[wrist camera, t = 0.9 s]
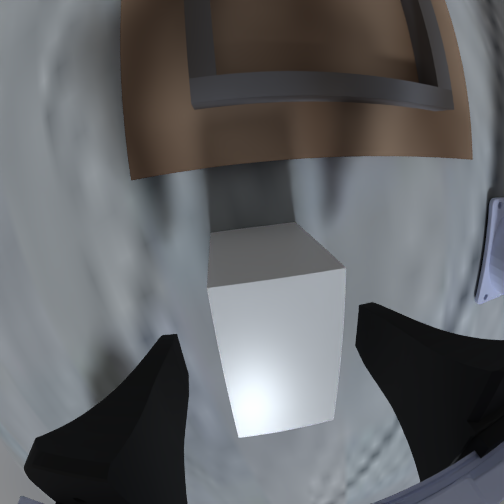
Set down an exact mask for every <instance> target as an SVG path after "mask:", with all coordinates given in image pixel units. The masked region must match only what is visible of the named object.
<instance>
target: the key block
mask: <svg viewBox="0 0 504 504" xmlns="http://www.w3.org/2000/svg"><path fill="white" fill-rule="evenodd" d="M345 288H346V267H345V266H343V265H342V264H341V263H340V262H339V261H338V260H337V259H336V258H335V257H334V256H333V255H332V254H330V253H329V252H328V251H327V250H326V249H325V248H324V247H323V246H322V245H321V244H319V243H318V242H317V241H316V240H315V239H314V238H313V237H312V236H311V235H309V234H308V233H307V232H306V231H305V230H304V229H303V228H302V227H301V226H299V225H298V224H297V223H296V222H291V223H283V224H274V225H266V226H258V227H250V228H242V229H234V230H226V231H219V232H211V233H210V248H209V263H208V280H207V291H208V296H209V302H210V307H211V312H212V318H213V323H214V328H215V333H216V338H217V343H218V348H219V353H220V358H221V362H222V367H223V372H224V376H225V381H226V385H227V390H228V394H229V399H230V403H231V407H232V411H233V416H234V420H235V424H236V428H237V432H238V436H239V438H240V437H248V436H255V435H262V434H268V433H274V432H280V431H286V430H291V429H296V428H301V427H305V426H310V425H314V424H318V423H323V422H327V421H330V420H333V419H334V413H335V405H336V398H337V390H338V381H339V372H340V363H341V352H342V340H343V326H344V310H345Z"/></svg>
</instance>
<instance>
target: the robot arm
mask: <svg viewBox="0 0 504 504" xmlns="http://www.w3.org/2000/svg"><path fill="white" fill-rule="evenodd" d="M501 295H504V197H497V198H492V199H491V200H490V203H489V215H488V225H487V235H486V243H485V250H484V256H483V262H482V268H481V274H480V279H479V284H478V288H477V293H476V297H475V301H476V303H478V304H482V303H484V302H487V301H489V300H492V299H494V298H496V297H499V296H501ZM355 346H356V348H357V350H358V352H359V355H360V357H361V359H362V361H363V363H364V365H365V366H366V368H367V369H368V371H369V372H370V374H371V375H372V377H373V379H374V380H375V381H376V383H377V384H378V386H379V387H380V389H381V390H382V392H383V393H384V395H385V397H386V398H387V400H388V401H389V403H390V404H391V406H392V408H393V410H394V412H395V414H396V416H397V418H398V420H399V422H400V425H401V427H402V429H403V432H404V434H405V436H406V439H407V441H408V444H409V446H410V449H411V452H412V455H413V458H414V461H415V464H416V467H417V471H418V474H419V478H420V483H418V484H416V485H414V486H412V487H410V488H408V489H405V490H403V491H401V492H399V493H397V494H394V495H392V496H390V497H387V498H385V499H382V500H380V501H377V502H375V503H372V504H499V503H501V502H502V501H503V500H504V340H488V339H480V338H473V337H468V336H463V335H458V334H454V333H450V332H447V331H443V330H440V329H437V328H434V327H431V326H429V325H426V324H423V323H421V322H418V321H416V320H413V319H411V318H409V317H406V316H404V315H402V314H400V313H397V312H395V311H393V310H391V309H388V308H386V307H384V306H381V305H379V304H376V303H373V302H371V303H366V304H362V305H359V313H358V324H357V335H356V344H355ZM188 399H189V375H188V370H187V367H186V364H185V360H184V357H183V354H182V350H181V347H180V343H179V340H178V336H177V334H171V335H162V336H161V337H160V338H159V339H158V341H157V342H156V343H155V344H154V346H153V347H152V348H151V350H150V351H149V352H148V353H147V355H146V356H145V357H144V358H143V360H142V361H141V362H140V363H139V365H138V366H137V367H136V368H135V369H134V370H133V371H132V372H131V374H130V375H129V376H128V377H127V378H126V379H125V380H124V381H123V382H122V383H121V384H120V385H119V386H118V387H117V388H116V389H115V390H114V391H113V392H112V393H111V394H109V395H108V396H107V397H106V398H105V399H104V400H102V401H101V402H100V403H98V404H97V405H96V406H94V407H93V408H92V409H90V410H89V411H87V412H86V413H85V414H83V415H81V416H80V417H78V418H77V419H75V420H73V421H71V422H70V423H68V424H66V425H64V426H62V427H60V428H58V429H56V430H54V431H52V432H49V433H47V434H45V435H42V436H40V437H37V438H36V439H35V441H34V443H33V446H32V448H31V450H30V453H29V455H28V458H27V460H26V463H25V465H24V471H25V473H26V475H27V476H28V478H29V479H30V480H31V481H32V482H33V483H34V484H35V485H36V486H37V487H39V488H40V489H41V490H42V491H43V492H44V493H46V494H47V495H48V496H49V497H50V498H52V499H53V500H54V501H56V504H187V495H186V484H185V470H184V438H185V428H186V418H187V409H188ZM18 504H43V503H41V502H38V501H35V500H32V499H30V498H27V497H24V496H20V500H19V503H18Z"/></svg>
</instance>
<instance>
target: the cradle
mask: <svg viewBox="0 0 504 504" xmlns="http://www.w3.org/2000/svg"><path fill="white" fill-rule="evenodd" d="M120 56H121V84H122V101H123V114H124V126H125V136H126V145H127V153H128V161H129V169H130V176H131V180H136V179H141V178H147V177H152V176H158V175H164V174H170V173H176V172H182V171H189V170H196V169H203V168H210V167H218V166H226V165H235V164H244V163H254V162H264V161H275V160H288V159H303V158H321V157H346V156H417V157H441V158H458V159H471V160H473V159H472V136H471V122H470V112H469V103H468V96H467V89H466V82H465V76H464V71H463V66H462V61H461V56H460V52H459V47H458V43H457V39H456V35H455V32H454V28H453V25H452V21H451V18H450V15H449V11H448V8H447V5H446V2H445V0H121V26H120Z"/></svg>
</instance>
